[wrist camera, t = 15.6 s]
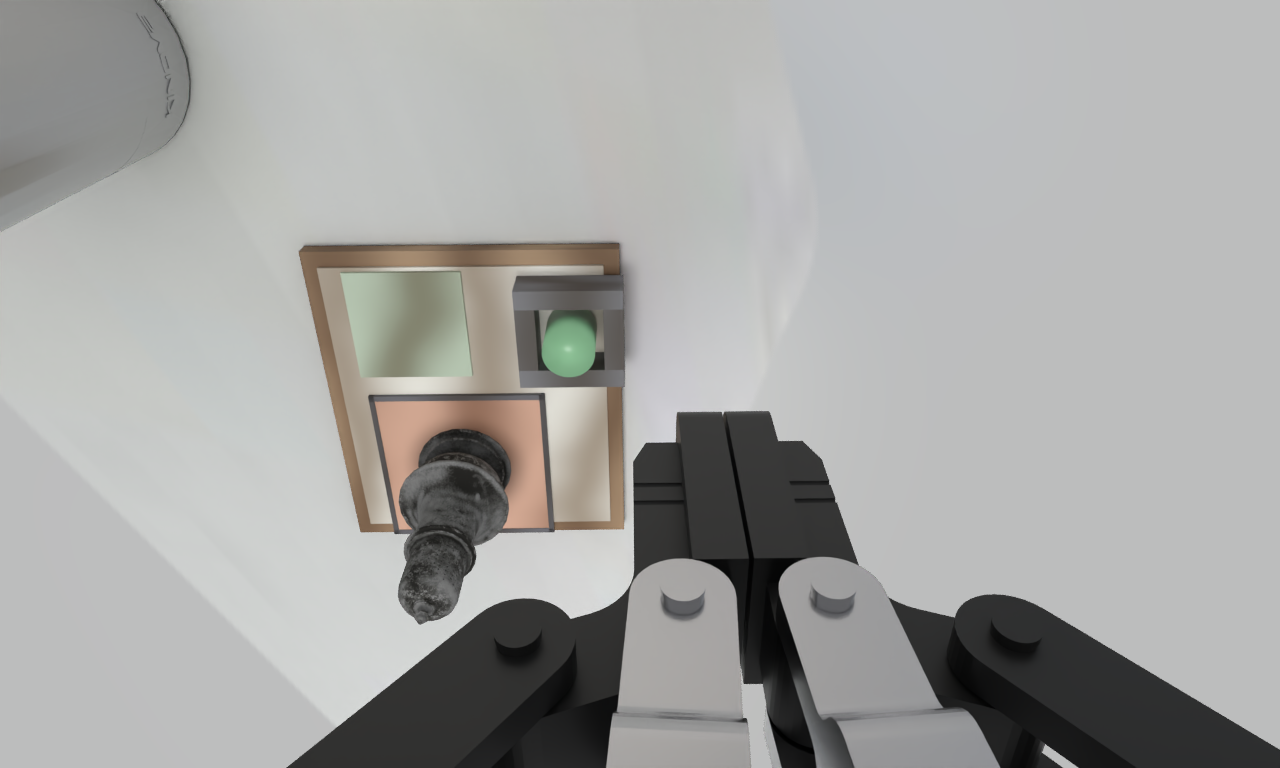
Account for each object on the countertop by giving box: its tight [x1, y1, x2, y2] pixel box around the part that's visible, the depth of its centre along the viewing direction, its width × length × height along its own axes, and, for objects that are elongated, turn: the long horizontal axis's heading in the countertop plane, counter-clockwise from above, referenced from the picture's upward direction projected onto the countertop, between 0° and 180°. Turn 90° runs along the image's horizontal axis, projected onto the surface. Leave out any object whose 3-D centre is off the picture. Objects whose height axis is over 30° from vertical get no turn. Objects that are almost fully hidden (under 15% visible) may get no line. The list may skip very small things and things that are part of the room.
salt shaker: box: [398, 429, 511, 624], centre depth 42 cm, size 6×6×12 cm
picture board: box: [299, 244, 625, 534], centre depth 45 cm, size 16×18×3 cm
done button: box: [542, 310, 597, 377], centre depth 42 cm, size 3×3×3 cm
